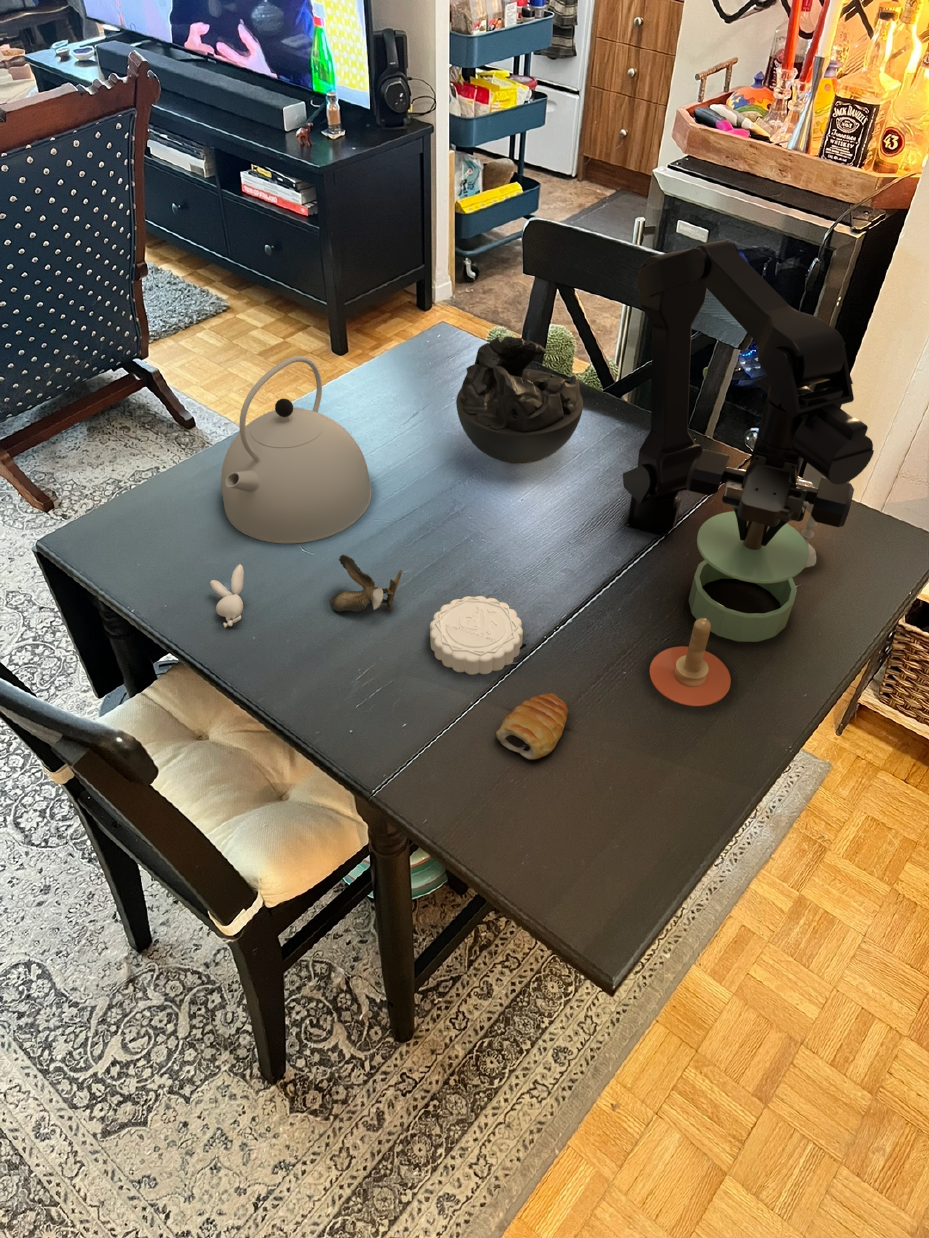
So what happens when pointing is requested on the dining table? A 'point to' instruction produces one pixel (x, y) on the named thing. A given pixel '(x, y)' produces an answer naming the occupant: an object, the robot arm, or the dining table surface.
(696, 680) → the pestle
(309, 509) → the kettle
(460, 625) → the mooncake
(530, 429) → the bowl of black rocks
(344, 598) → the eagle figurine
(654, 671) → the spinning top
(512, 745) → the pastry
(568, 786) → the dining table surface
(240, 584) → the rabbit figurine
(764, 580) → the pot lid
